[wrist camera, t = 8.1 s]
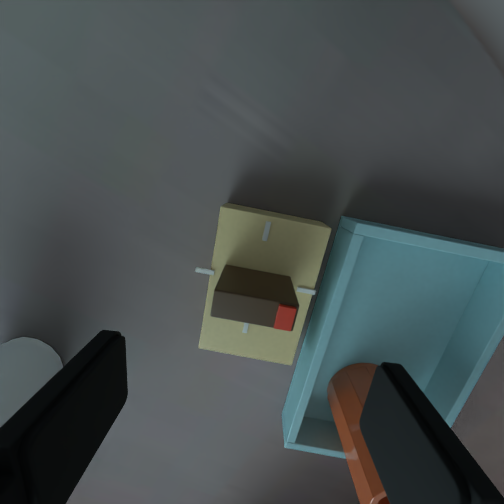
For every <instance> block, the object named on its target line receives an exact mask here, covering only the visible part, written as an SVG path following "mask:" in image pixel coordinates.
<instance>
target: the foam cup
mask: <svg viewBox="0 0 504 504" xmlns="http://www.w3.org/2000/svg"><path fill="white" fill-rule="evenodd" d="M62 368H63V365H62V362H61V359H60V356H59V355H58V354H57V353H56V352H55V351H54V350H53V348H52V347H51V346H49V345H47V344H46V343H44V342H42V341H40V340H38V339H34V338H29V337H20V338H16V339H12V340H10V341H8V342H6V343H3V344H1V345H0V427H1V426H2V425H3V424H4V423H6V422H7V421H8V420H9V419H10V418H11V417H12V416H13V415H14V414H15V413H16V412H17V411H18V410H19V409H20V408H21V407H22V406H23V405H24V404H25V403H26V402H27V401H28V400H29V399H30V398H31V397H32V396H33V395H35V394H36V393H37V392H38V391H39V390H40V389H41V388H42V387H43V386H44V385H45V384H46V383H47V382H48V381H49V380H50V379H51V378H52V377H53V376H54V375H55V374H56V373H57V372H58V371H60V370H61V369H62Z"/></svg>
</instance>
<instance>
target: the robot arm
mask: <svg viewBox="0 0 504 504" xmlns="http://www.w3.org/2000/svg"><path fill="white" fill-rule="evenodd" d="M127 395H128V388H127V367H126V345H125V337H124V336H121V333H120V332H118V331H109V330H102V331H100V332H99V333H98V334H97V335H96V336H95V337H94V338H93V339H92V340H91V341H90V342H89V343H88V344H87V345H86V346H85V347H84V348H83V349H82V350H81V351H80V352H79V353H78V354H77V355H76V356H74V357H73V358H72V359H71V360H70V361H69V362H68V363H67V364H66V365H65V366H64V367H63V368H62V369H61V370H60V371H58V372H57V373H56V374H55V375H54V376H53V377H52V378H51V379H50V380H49V381H48V382H47V383H46V384H45V385H44V386H43V387H42V388H41V389H40V390H39V391H38V392H37V393H36V394H35V395H33V396H32V397H31V398H30V399H29V400H28V401H27V402H26V403H25V404H24V405H23V406H22V407H21V408H20V409H19V410H18V411H17V412H16V413H15V414H14V415H13V416H12V417H11V418H10V419H9V420H8V421H7V422H6V423H4V424H3V425H2V426H1V427H0V504H66V502H67V500H68V499H69V497H70V495H71V494H72V492H73V490H74V488H75V487H76V485H77V483H78V482H79V480H80V478H81V477H82V475H83V473H84V472H85V470H86V468H87V467H88V465H89V463H90V462H91V460H92V458H93V456H94V455H95V453H96V451H97V450H98V448H99V446H100V445H101V443H102V441H103V440H104V438H105V436H106V435H107V433H108V431H109V430H110V428H111V426H112V424H113V423H114V421H115V419H116V418H117V416H118V414H119V413H120V411H121V409H122V408H123V406H124V404H125V402H126V399H127ZM359 426H360V430H361V433H362V436H363V438H364V441H365V443H366V446H367V448H368V450H369V453H370V455H371V458H372V460H373V463H374V465H375V468H376V470H377V473H378V475H379V478H380V480H381V483H382V485H383V488H384V490H385V493H386V495H387V498H388V500H389V503H390V504H504V497H503V496H502V495H501V494H500V492H499V491H498V490H497V488H496V487H495V486H494V484H493V483H492V482H491V480H490V479H489V478H488V477H487V475H486V474H485V473H484V471H483V470H482V469H481V467H480V466H479V465H478V463H477V462H476V461H475V460H474V458H473V457H472V456H471V454H470V453H469V452H468V450H467V449H466V448H465V447H464V445H463V444H462V443H461V441H460V440H459V439H458V437H457V436H456V435H455V433H454V432H453V431H452V430H451V428H450V427H449V426H448V424H447V423H446V422H445V420H444V419H443V418H442V416H441V415H440V414H439V413H438V411H437V410H436V409H435V407H434V406H433V405H432V403H431V402H430V401H429V399H428V398H427V397H426V396H425V394H424V393H423V392H422V390H421V389H420V388H419V386H418V385H417V384H416V382H415V381H414V380H413V379H412V377H411V376H410V375H409V373H408V372H407V371H406V369H405V368H404V367H403V366H402V365H401V364H399V363H390V362H382V363H381V365H380V366H377V367H376V370H375V373H374V376H373V379H372V382H371V385H370V388H369V391H368V395H367V398H366V401H365V404H364V407H363V410H362V413H361V416H360V420H359Z"/></svg>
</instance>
